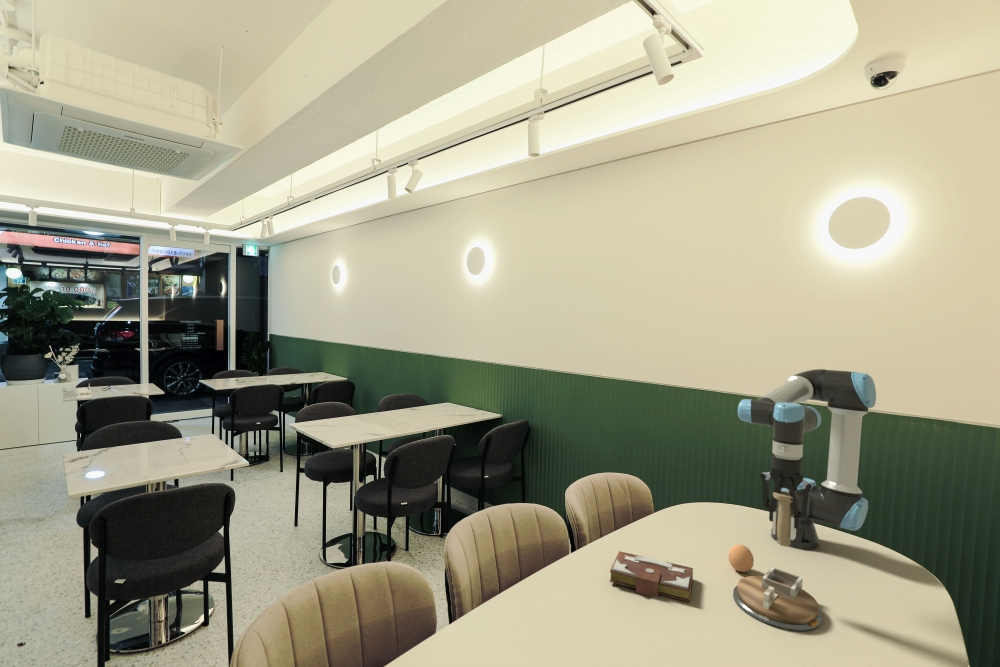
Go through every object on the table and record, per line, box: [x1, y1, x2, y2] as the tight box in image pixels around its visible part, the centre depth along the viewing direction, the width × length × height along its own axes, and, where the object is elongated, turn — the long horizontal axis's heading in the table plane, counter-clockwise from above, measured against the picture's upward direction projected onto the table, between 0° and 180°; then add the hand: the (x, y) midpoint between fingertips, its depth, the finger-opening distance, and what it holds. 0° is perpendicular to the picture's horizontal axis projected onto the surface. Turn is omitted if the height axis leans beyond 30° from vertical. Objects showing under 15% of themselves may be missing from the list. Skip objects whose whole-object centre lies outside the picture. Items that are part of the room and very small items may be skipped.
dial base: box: [732, 585, 824, 633], centre depth 135 cm, size 22×22×2 cm
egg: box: [728, 543, 755, 573], centre depth 154 cm, size 7×7×8 cm
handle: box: [772, 491, 798, 548], centre depth 138 cm, size 5×6×15 cm
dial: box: [736, 566, 820, 624], centre depth 135 cm, size 20×20×6 cm
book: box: [609, 551, 694, 603], centre depth 146 cm, size 23×16×5 cm
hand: (783, 535), depth 138 cm, fingers closed on handle, 4 cm apart
